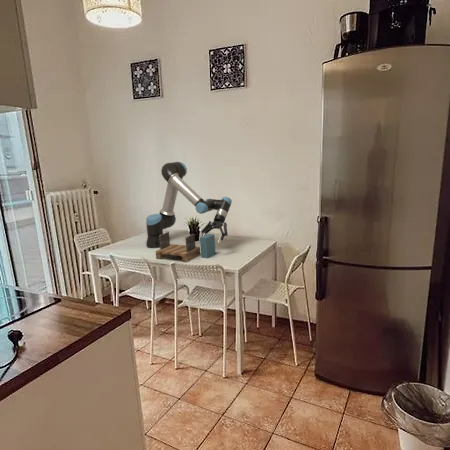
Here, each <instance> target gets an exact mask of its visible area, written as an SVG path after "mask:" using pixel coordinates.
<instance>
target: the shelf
mask: <svg viewBox="0 0 450 450" xmlns="http://www.w3.org/2000/svg"><path fill="white" fill-rule="evenodd" d="M195 237H196V234H195V233H192V234H190V235H188V236H186V237H185V238H184V239H185V244H174V243H171V240H170V232H169V231H167V232H163V234H161V235H159V240H160V247H159V249H157V250H155V258H156V259H157V260H162V259H164V258H165V257H168V256H169V255H170V256H177V257H178V256H179V257H181V262H182V263H188V262H189V260H190V261H191V259H192V260H193V259H195V258H196V257H199V256H201V246H198V245H197V246H196V238H195ZM187 261H188V262H187Z"/></svg>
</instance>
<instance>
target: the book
mask: <svg viewBox="0 0 450 450" xmlns="http://www.w3.org/2000/svg"><path fill="white" fill-rule="evenodd" d="M215 238H216V237H215V234H213V233H212V234H211V233H207V234H206V235H205V236H202V235H201V236H200V237H199V244H200V246H199V247H200V256H201V258H203V259H210V258H211V257H213V256H215V255H217V254H216V241H215Z"/></svg>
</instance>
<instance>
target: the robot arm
mask: <svg viewBox="0 0 450 450" xmlns="http://www.w3.org/2000/svg"><path fill="white" fill-rule="evenodd" d="M160 171H161V176H162V177H163V179H164V180H165V181H166V182H167V186H166V189H165V190H166V191H165V195H164V200H163V204H162V208H161V209H160V210H159V213H154V214H150V215H148V216H147V217H146V218H145V219H146V221H145V222H146V223H145V225H146V224H147V226H146V234H147V233H148V235H147V239H146V242H145V244H146V247H147V248H151V249H158V248H160V240H159V235H161V234H164V230H167V229H168V228H171V227H173V226H174V225H175V224H176V219H177V217H176V214H175V212H174V210H175V204H176V200H177V196H178V192H179V193H181V195H182V196H183V197H185V198H186V199H187V200H188V201H189V202H190V204H192V206H195V210H196V213H198V214H206V213H207V212H208V213H209V212H211V211H216V212H215V215H214V217H213V221H208V223H206V225H205V226H204V227H203V228H202V230H201V233H202V235H201V237H202V236H205V235H207V234H209V232H211V231H212V230H215V229H217V230H219V231H220V233H221V234H220V235H219V238H218V241H217V244H218V246H221V243H222V241H223V240H224V238H225V237H228V228H227V227H228V224H227V222H225V221H226V218H227V217H228V216H227V215H228V213H229V211H230V208H231V206H232V202H233V200H232V199H231V198H230V197H228V196H223V197H222V198H221V199H215V198H206V199H203V198H202V197H201V196H200V195H199V193H197V192H196V191H195V190H194V189H192V187H191V186H190V185H188V184H187V182H185V181H184V180H183V178H184V177H185V176H187V171H188V169H187V166H186V165H185V164H184V163H183V162H181V161H173V162H167V163H164V165H163V166H162V167H161V170H160ZM222 227H223V228H222Z"/></svg>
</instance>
